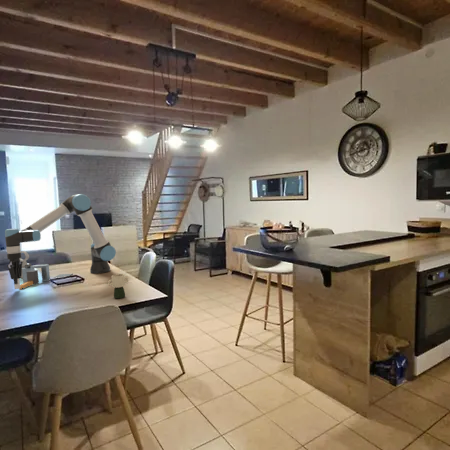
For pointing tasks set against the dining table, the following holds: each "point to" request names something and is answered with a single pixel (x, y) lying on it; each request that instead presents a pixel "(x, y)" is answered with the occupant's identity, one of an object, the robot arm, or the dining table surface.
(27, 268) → the housing
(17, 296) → the dining table surface
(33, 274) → the plug
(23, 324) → the dining table surface
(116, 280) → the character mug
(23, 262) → the engine component
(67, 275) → the felt mat
